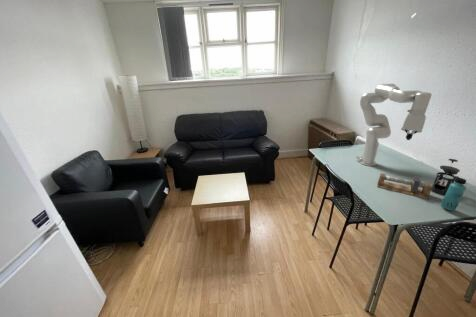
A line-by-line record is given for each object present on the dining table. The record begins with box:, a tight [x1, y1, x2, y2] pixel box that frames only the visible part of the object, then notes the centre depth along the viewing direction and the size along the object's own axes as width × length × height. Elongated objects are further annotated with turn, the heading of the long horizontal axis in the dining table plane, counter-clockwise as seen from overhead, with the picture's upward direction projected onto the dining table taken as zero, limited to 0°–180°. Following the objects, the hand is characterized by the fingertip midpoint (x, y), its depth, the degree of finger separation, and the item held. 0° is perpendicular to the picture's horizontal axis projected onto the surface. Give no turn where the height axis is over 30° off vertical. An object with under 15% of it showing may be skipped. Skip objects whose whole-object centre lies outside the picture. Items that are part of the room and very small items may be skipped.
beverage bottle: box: [440, 177, 467, 211], centre depth 114 cm, size 6×7×20 cm
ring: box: [410, 175, 421, 193], centre depth 132 cm, size 2×8×8 cm, turn 145°
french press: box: [430, 158, 461, 196], centre depth 129 cm, size 12×9×23 cm
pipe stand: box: [376, 172, 433, 200], centre depth 136 cm, size 27×10×8 cm, turn 55°
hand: (408, 139), depth 138 cm, fingers closed
